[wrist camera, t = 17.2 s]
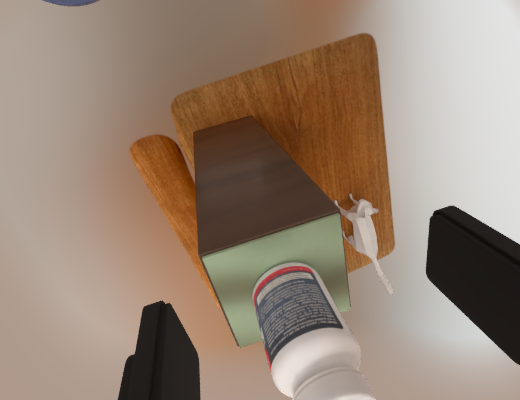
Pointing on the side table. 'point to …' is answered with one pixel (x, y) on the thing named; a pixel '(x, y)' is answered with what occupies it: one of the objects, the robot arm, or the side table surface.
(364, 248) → the cat figurine
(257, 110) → the side table surface
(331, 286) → the front stand
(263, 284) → the pill bottle
